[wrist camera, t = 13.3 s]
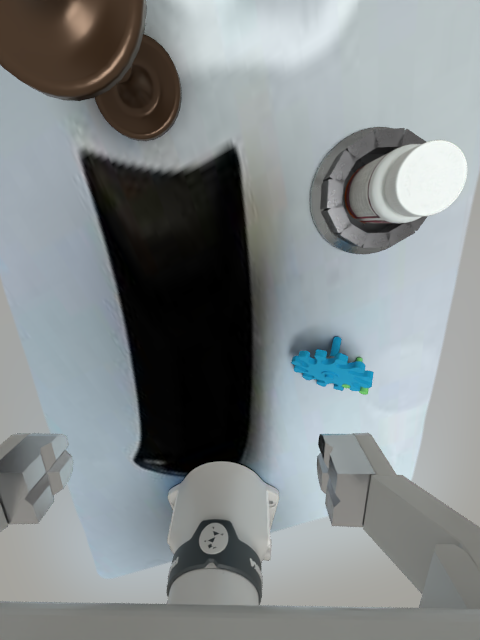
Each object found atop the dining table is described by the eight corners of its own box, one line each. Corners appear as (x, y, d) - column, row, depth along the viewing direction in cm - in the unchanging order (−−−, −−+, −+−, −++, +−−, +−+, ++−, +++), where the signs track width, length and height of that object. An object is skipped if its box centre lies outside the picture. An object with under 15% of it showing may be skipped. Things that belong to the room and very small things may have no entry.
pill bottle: (409, 183, 31) (495, 162, 20) (373, 233, 33) (434, 238, 22) (365, 151, 30) (430, 111, 19) (330, 204, 32) (372, 195, 21)
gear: (275, 366, 38) (329, 354, 29) (286, 329, 41) (339, 308, 32) (333, 399, 41) (397, 397, 33) (341, 363, 44) (401, 353, 35)
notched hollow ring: (414, 251, 34) (435, 255, 30) (307, 254, 35) (314, 258, 31) (435, 127, 30) (462, 113, 26) (312, 132, 30) (322, 119, 27)
